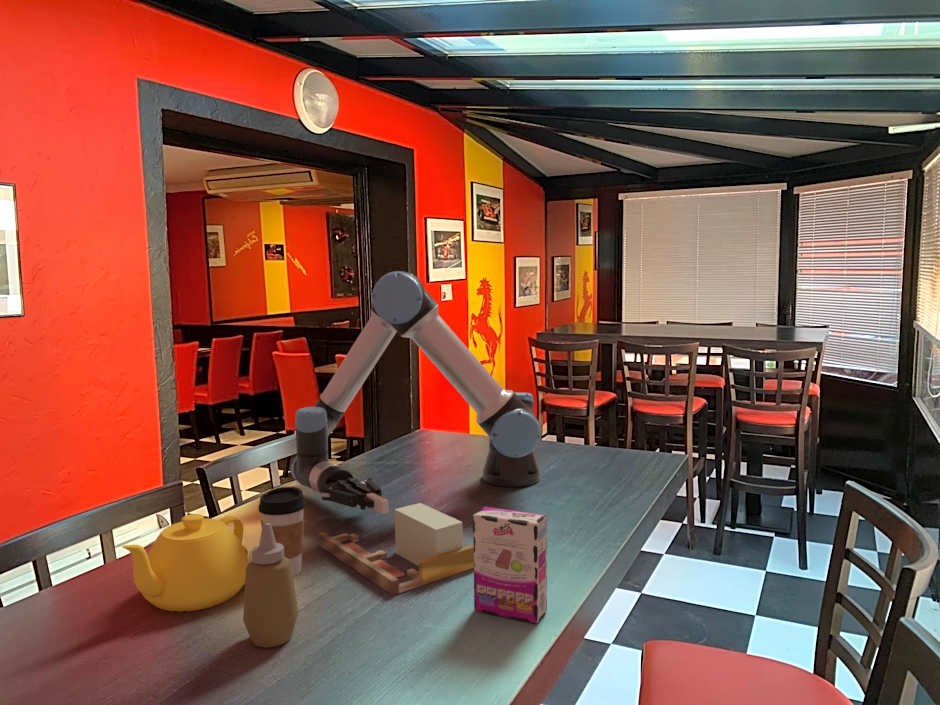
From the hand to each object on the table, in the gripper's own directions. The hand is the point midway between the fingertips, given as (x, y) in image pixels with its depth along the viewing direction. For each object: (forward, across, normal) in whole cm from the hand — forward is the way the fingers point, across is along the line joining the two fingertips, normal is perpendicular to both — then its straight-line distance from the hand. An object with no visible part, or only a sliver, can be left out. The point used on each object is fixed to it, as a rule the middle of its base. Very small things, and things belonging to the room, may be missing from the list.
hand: (385, 507), depth 147 cm
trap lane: (+9, +3, -6) cm, 12 cm away
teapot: (+1, +40, -7) cm, 40 cm away
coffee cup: (+3, +24, -7) cm, 25 cm away
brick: (+15, 0, -6) cm, 17 cm away
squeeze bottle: (+24, +35, -7) cm, 43 cm away
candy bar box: (+40, +2, -7) cm, 41 cm away
